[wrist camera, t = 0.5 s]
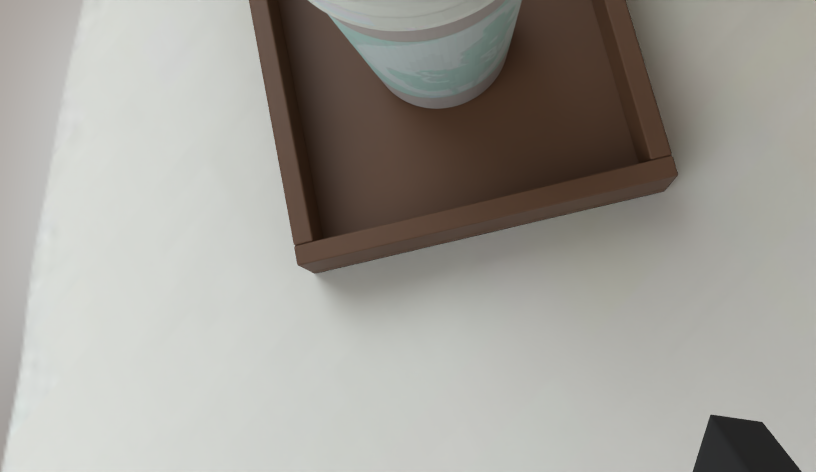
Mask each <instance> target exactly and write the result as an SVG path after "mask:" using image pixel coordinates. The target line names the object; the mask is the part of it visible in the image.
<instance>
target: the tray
mask: <svg viewBox="0 0 816 472" xmlns="http://www.w3.org/2000/svg"><path fill="white" fill-rule="evenodd" d="M249 3H250V8H251V14H252V19H253V25H254V30H255V36H256V41H257V46H258V52H259V57H260V63H261V68H262V74H263V79H264V84H265V90H266V95H267V101H268V106H269V112H270V117H271V122H272V128H273V133H274V139H275V144H276V150H277V155H278V160H279V166H280V171H281V177H282V182H283V188H284V193H285V199H286V204H287V209H288V215H289V220H290V226H291V231H292V237H293V242H294V245H295V254H296V259H297V264H298V265H299V266H301V267H303V268H305V269H307V270H309V271H311V272H312V273H319V272H324V271H328V270H332V269H336V268H341V267H345V266H349V265H353V264H358V263H362V262H366V261H370V260H375V259H379V258H383V257H387V256H392V255H396V254H400V253H404V252H409V251H413V250H417V249H421V248H426V247H430V246H434V245H438V244H443V243H447V242H451V241H455V240H460V239H464V238H468V237H472V236H477V235H481V234H485V233H489V232H493V231H498V230H502V229H506V228H510V227H515V226H519V225H523V224H527V223H532V222H536V221H540V220H544V219H549V218H553V217H557V216H561V215H566V214H570V213H574V212H578V211H583V210H587V209H591V208H595V207H600V206H604V205H608V204H612V203H617V202H621V201H625V200H629V199H634V198H638V197H642V196H646V195H650V194H655V193H659V192H663V191H665V190H666V188H667V187H668V186H669V185H670V184H671V182H672V181H673V180H674V179H675V178H676V177H677V176H678V172H677V169H676V166H675V162H674V159H673V157H672V156H671V150H670V146H669V143H668V140H667V136H666V133H665V130H664V126H663V123H662V120H661V117H660V113H659V110H658V107H657V103H656V100H655V97H654V93H653V90H652V87H651V83H650V80H649V77H648V73H647V70H646V67H645V63H644V60H643V57H642V54H641V50H640V47H639V44H638V40H637V37H636V34H635V30H634V27H633V24H632V20H631V17H630V14H629V10H628V7H627V4H626V0H522V2H521V5H520V9H519V13H518V17H517V20H516V24H515V28H514V32H513V36H512V39H511V43H510V46H509V50H508V53H507V57H506V60H505V63H504V65H503V68H502V70H501V72H500V73H499V75H498V76H497V78H496V79H495V81H494V82H493V83H492V84H491V85H490V86H489V87H488V88H487V89H486V90H485V91H484V92H483V93H481V94H480V95H479V96H477V97H476V98H474V99H472V100H470V101H468V102H466V103H464V104H461V105H458V106H454V107H449V108H441V109H432V108H424V107H419V106H416V105H413V104H410V103H408V102H406V101H404V100H402V99H401V98H399V97H398V96H396V95H395V94H394V93H392V92H391V91H390V90H389V89H388V88H387V86H386V85H385V84H384V83H383V82H382V80H381V79H380V78H379V77H378V76H377V74H376V73H375V72H374V71H373V70H372V69H371V67H370V66H369V65H368V64H367V62H366V61H365V60H364V59H363V57H362V56H361V55H360V54H359V52H358V51H357V50H356V49H355V47H354V46H353V45H352V44H351V43H350V41H349V40H348V39H347V38H346V36H345V35H344V34H343V33H342V31H341V30H340V29H339V28H338V26H337V25H336V24H335V23H334V21H333V20H332V19H331V18H330V17H329V15H328V14H327V13H325V12H324V11H322V10H321V9H319V8H317V7H316V6H315V5H313V4H312V3H311V2H309V1H308V0H249Z"/></svg>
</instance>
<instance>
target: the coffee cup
mask: <svg viewBox="0 0 816 472" xmlns="http://www.w3.org/2000/svg"><path fill="white" fill-rule="evenodd" d="M308 1H309V2H311V3H312V4H313V5H315V6H316V7H317V8H319V9H321V10H322V11H324V12H325V13H327V14H328V15H329V17H330V18H331V19H332V20H333V21H334V23H335V24H336V25H337V26H338V28H339V29H340V30H341V31H342V33H343V34H344V35H345V36H346V38H347V39H348V40H349V41H350V43H351V44H352V45H353V46H354V47H355V49H356V50H357V51H358V52H359V54H360V55H361V56H362V57H363V59H364V60H365V61H366V62H367V64H368V65H369V66H370V67H371V69H372V70H373V71H374V72H375V73H376V74H377V76H378V77H379V78H380V79H381V80H382V82H383V83H384V84H385V85H386V86H387V88H388V89H389V90H390V91H391V92H392V93H394V94H395V95H396V96H398V97H399V98H401V99H402V100H404V101H406V102H408V103H410V104H413V105H416V106H419V107H424V108H432V109H441V108H449V107H454V106H458V105H461V104H464V103H466V102H468V101H470V100H472V99H474V98H476V97H477V96H479V95H480V94H481V93H483V92H484V91H485V90H486V89H487V88H488V87H489V86H490V85H491V84H492V83H493V82H494V81H495V79H496V78H497V76H498V75H499V73H500V72H501V70H502V68H503V65H504V63H505V60H506V57H507V53H508V50H509V46H510V43H511V39H512V36H513V32H514V28H515V24H516V20H517V17H518V13H519V9H520V5H521V2H522V0H308Z"/></svg>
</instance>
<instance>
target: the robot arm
mask: <svg viewBox="0 0 816 472" xmlns="http://www.w3.org/2000/svg"><path fill="white" fill-rule="evenodd" d="M693 472H801V470H800V469H799V468H798V466H797V465H796V464H795V463H794V461H793V460H792V459H791V458H790V456H789V455H788V454H787V453H786V451H785V450H784V449H783V448H782V446H781V445H780V444H779V443H778V441H777V440H776V439H775V438H774V436H773V435H772V434H771V433H770V431H769V430H768V429H767V428H766V426H765V425H764V424H763V423H762V422H758V421H751V420H744V419H737V418H730V417H723V416H717V415H710V418H709V421H708V424H707V428H706V431H705V434H704V437H703V440H702V444H701V447H700V450H699V453H698V456H697V460H696V463H695V466H694V469H693Z"/></svg>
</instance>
